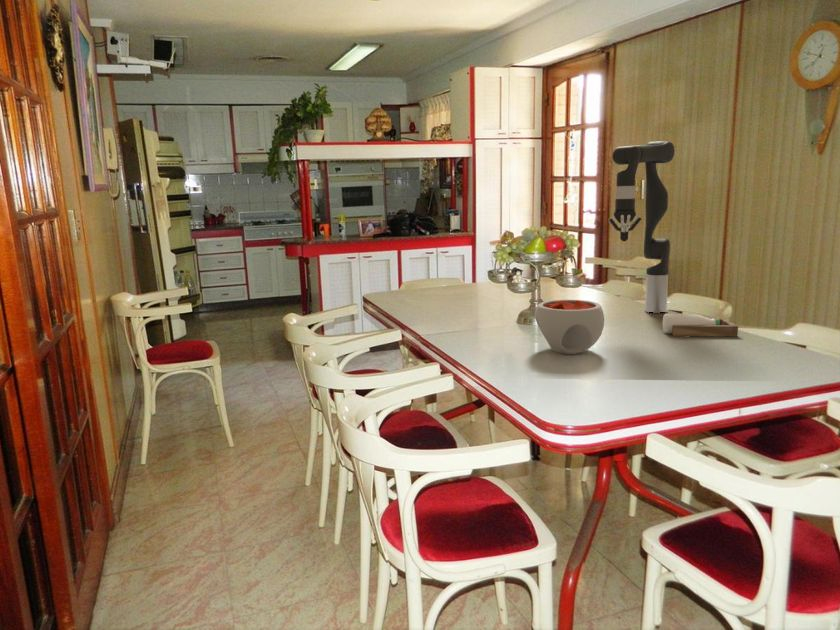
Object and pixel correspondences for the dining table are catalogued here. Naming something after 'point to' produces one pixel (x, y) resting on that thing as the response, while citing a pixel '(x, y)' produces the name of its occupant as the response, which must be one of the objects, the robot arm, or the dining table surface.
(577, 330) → the pot
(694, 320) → the milk bottle
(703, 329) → the walnut U-rest
